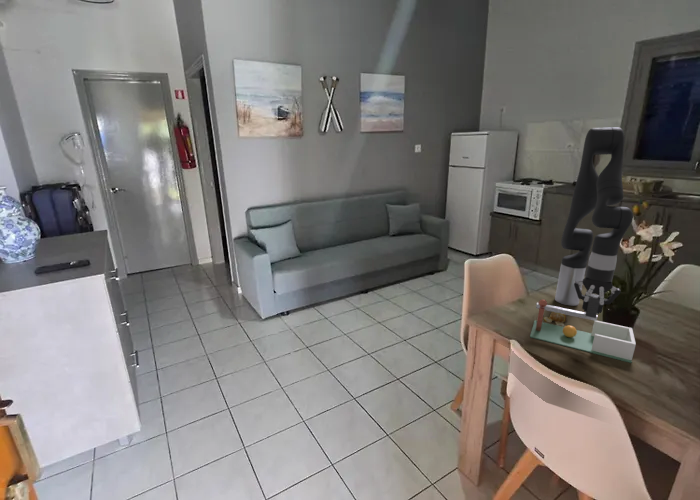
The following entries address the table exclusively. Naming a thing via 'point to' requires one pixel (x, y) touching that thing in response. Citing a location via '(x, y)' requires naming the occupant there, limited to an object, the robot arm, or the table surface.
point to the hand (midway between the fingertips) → (591, 311)
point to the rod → (590, 313)
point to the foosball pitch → (592, 339)
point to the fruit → (556, 318)
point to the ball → (569, 331)
